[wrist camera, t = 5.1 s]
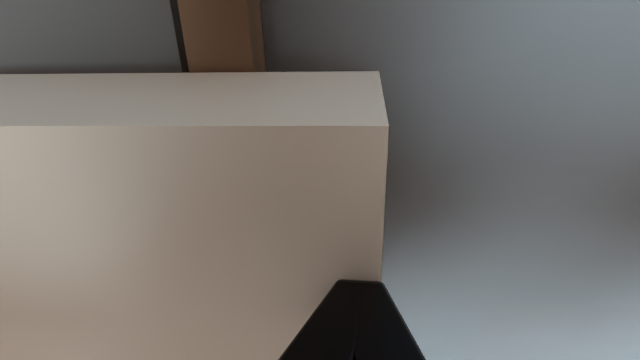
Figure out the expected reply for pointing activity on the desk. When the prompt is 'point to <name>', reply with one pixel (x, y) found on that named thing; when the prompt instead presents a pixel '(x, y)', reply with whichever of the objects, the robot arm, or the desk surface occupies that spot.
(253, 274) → the cream rectangular block
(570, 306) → the desk surface
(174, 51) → the charcoal mat
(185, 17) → the walnut rail
